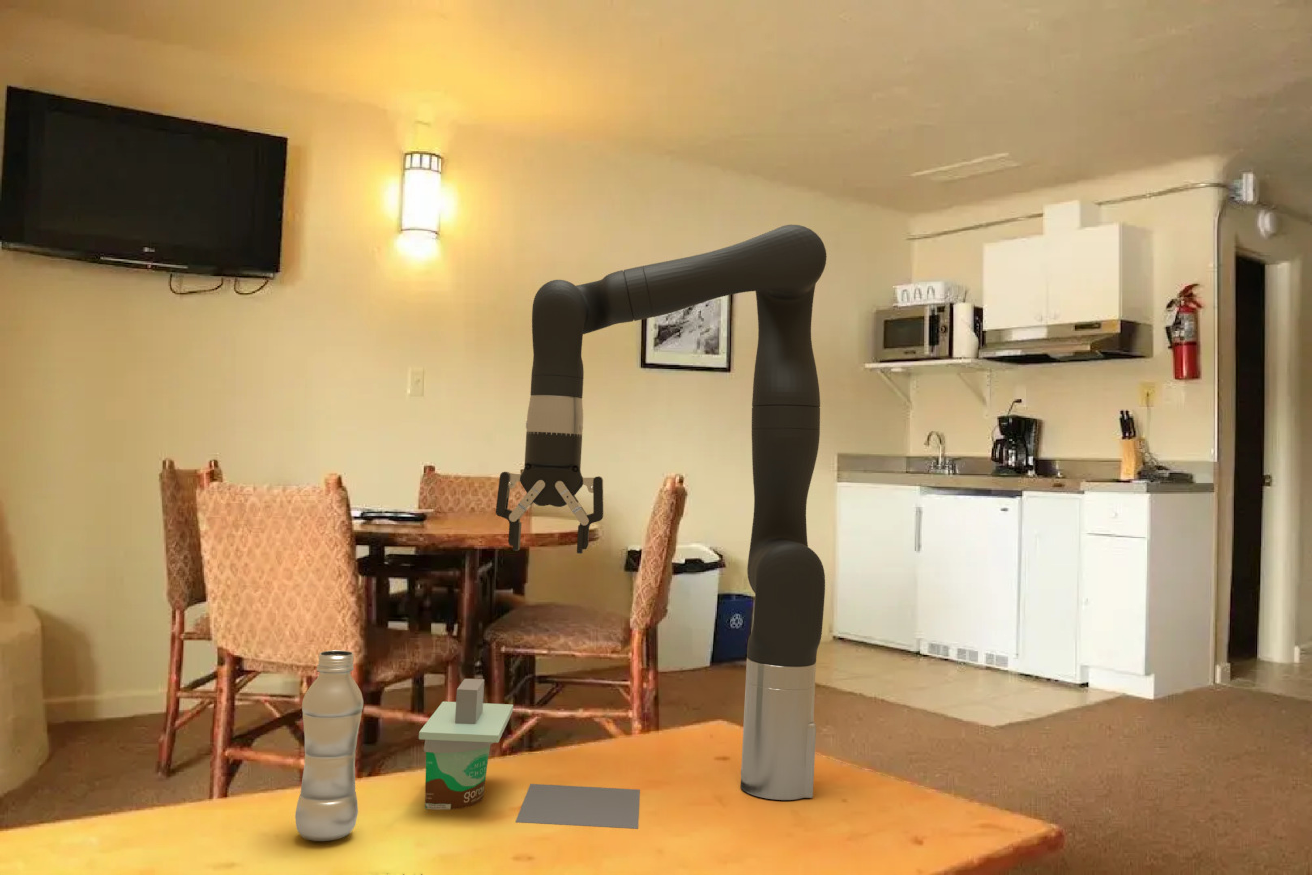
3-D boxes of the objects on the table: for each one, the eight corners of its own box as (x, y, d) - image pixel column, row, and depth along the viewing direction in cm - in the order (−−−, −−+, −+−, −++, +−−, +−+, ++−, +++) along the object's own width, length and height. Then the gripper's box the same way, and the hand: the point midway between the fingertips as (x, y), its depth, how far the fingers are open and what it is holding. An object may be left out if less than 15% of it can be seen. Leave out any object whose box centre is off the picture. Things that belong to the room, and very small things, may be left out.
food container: (469, 827, 117) (474, 739, 117) (419, 821, 118) (424, 733, 118) (506, 794, 129) (511, 714, 129) (460, 789, 130) (465, 710, 130)
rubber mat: (639, 797, 130) (639, 789, 130) (637, 837, 116) (638, 828, 116) (529, 791, 130) (530, 783, 130) (514, 830, 116) (515, 821, 116)
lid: (512, 710, 131) (515, 673, 131) (498, 742, 116) (500, 700, 116) (442, 707, 131) (444, 670, 131) (418, 739, 116) (421, 696, 116)
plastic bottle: (368, 832, 114) (379, 651, 114) (330, 853, 107) (342, 661, 108) (320, 822, 116) (331, 645, 116) (280, 842, 109) (291, 654, 110)
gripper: (608, 434, 141) (602, 552, 141) (505, 429, 141) (499, 546, 141) (606, 432, 134) (599, 556, 133) (497, 427, 134) (490, 551, 133)
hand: (547, 551), depth 137 cm, fingers open, 8 cm apart
